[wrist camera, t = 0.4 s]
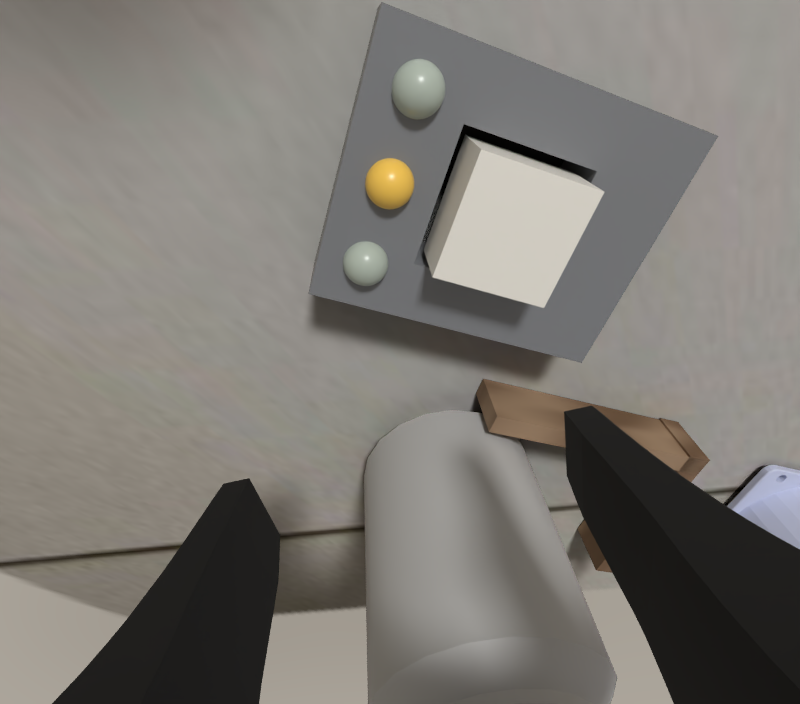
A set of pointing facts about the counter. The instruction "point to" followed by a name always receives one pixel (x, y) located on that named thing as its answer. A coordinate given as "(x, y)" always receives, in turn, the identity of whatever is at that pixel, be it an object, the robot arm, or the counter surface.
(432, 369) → the counter surface
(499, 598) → the can
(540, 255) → the block
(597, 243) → the panel
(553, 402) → the lockout bracket
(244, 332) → the counter surface
